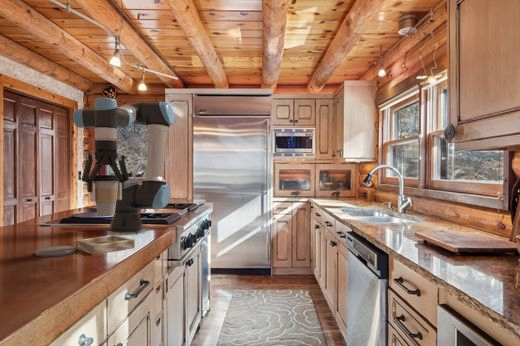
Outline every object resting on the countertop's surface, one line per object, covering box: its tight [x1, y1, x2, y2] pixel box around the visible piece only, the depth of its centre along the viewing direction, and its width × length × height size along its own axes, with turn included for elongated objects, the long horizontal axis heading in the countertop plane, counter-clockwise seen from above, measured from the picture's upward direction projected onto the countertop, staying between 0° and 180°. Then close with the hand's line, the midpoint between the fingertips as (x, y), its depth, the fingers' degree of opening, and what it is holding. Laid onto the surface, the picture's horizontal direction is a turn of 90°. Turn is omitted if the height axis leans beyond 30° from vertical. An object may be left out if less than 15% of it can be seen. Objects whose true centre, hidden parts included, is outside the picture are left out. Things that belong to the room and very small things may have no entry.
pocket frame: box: [75, 234, 136, 256], centre depth 129 cm, size 15×15×3 cm
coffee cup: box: [93, 174, 120, 217], centre depth 129 cm, size 9×9×15 cm
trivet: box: [35, 245, 77, 258], centre depth 121 cm, size 12×12×1 cm
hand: (106, 200), depth 129 cm, fingers closed on coffee cup, 9 cm apart
